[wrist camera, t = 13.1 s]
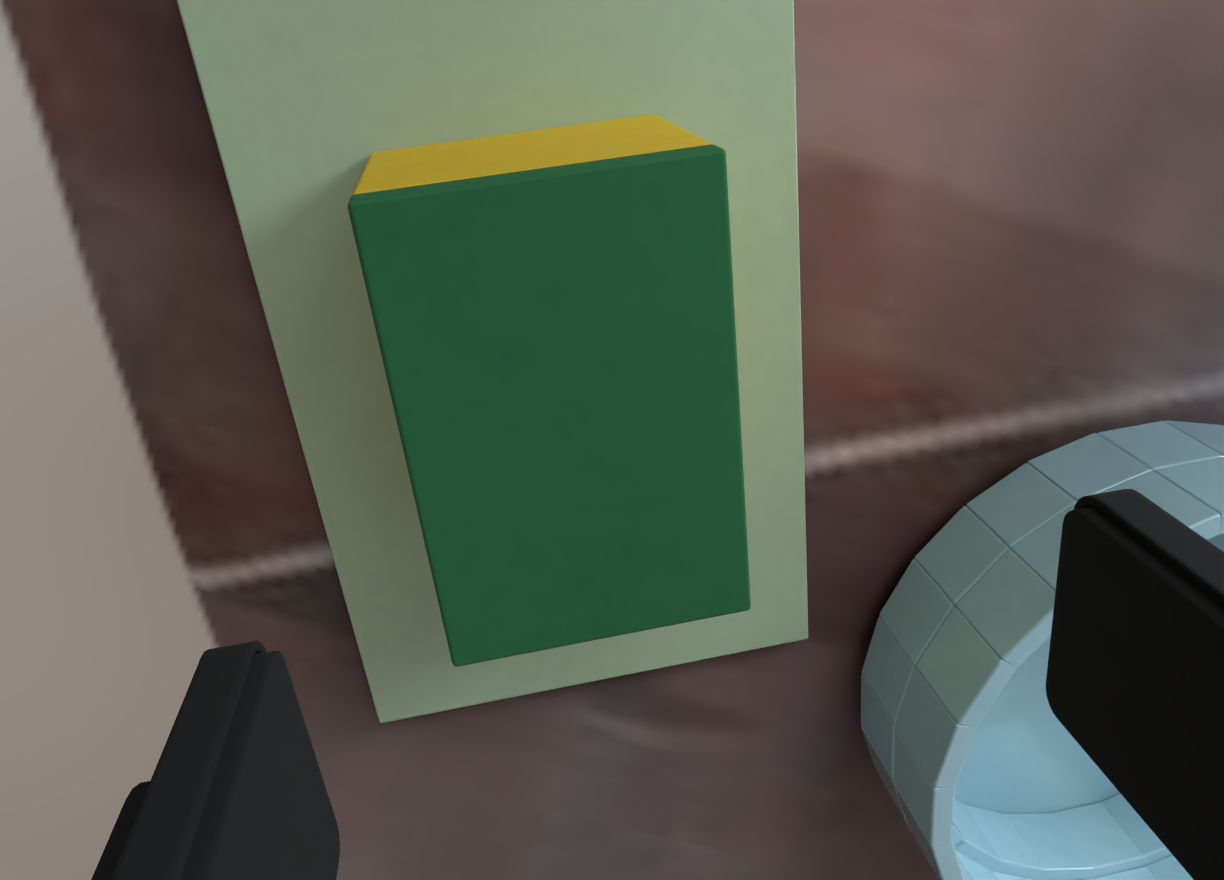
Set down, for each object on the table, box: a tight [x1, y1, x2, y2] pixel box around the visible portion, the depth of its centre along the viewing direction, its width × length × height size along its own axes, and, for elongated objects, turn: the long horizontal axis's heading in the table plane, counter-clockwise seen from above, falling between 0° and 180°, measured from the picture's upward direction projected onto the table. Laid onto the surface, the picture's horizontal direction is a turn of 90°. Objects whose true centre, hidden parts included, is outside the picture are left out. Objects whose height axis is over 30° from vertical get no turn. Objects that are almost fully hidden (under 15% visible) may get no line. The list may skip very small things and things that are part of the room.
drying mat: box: [177, 0, 808, 723], centre depth 22 cm, size 20×12×1 cm, turn 6°
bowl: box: [861, 420, 1224, 880], centre depth 27 cm, size 15×15×5 cm
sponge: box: [348, 114, 751, 667], centre depth 19 cm, size 9×6×6 cm, turn 6°
